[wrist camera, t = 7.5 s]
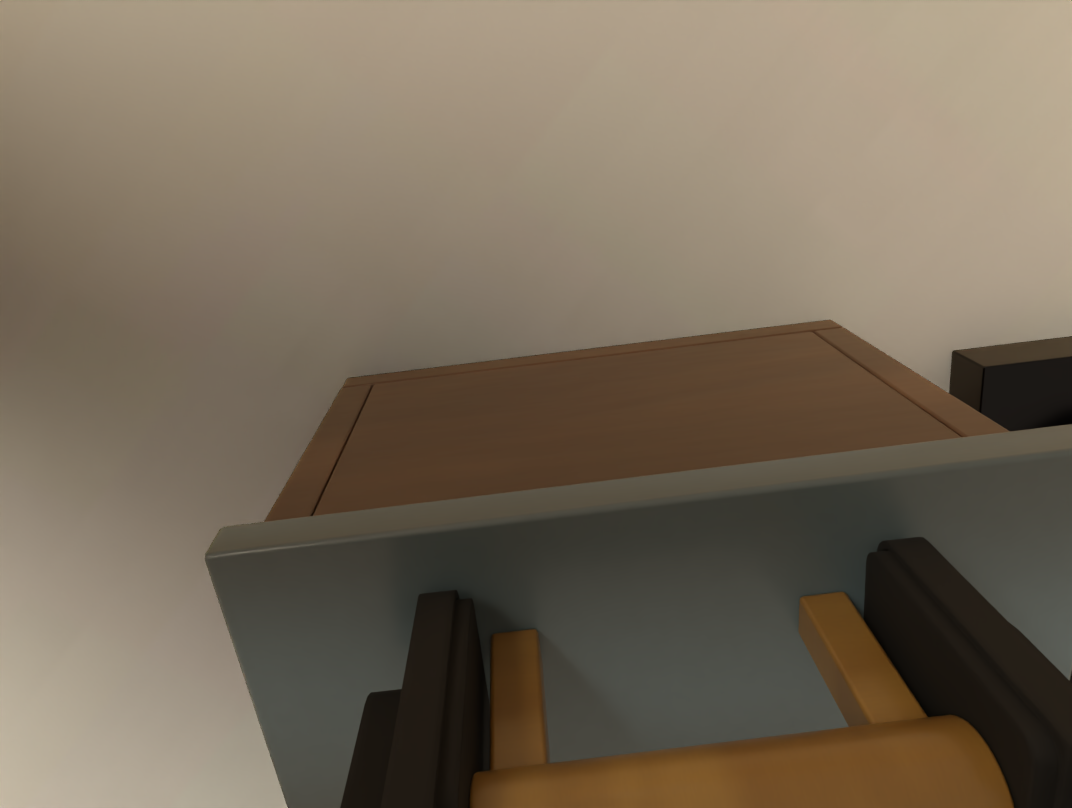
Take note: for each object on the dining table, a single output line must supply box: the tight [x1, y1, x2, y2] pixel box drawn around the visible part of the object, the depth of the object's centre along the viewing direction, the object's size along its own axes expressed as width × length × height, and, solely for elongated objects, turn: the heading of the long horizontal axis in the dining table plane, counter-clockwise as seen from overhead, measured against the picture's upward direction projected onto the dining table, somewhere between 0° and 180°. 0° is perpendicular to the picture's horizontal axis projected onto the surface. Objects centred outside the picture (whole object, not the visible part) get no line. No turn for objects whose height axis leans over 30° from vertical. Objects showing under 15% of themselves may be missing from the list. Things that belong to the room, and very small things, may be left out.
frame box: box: [264, 320, 1010, 522], centre depth 19 cm, size 14×13×8 cm
